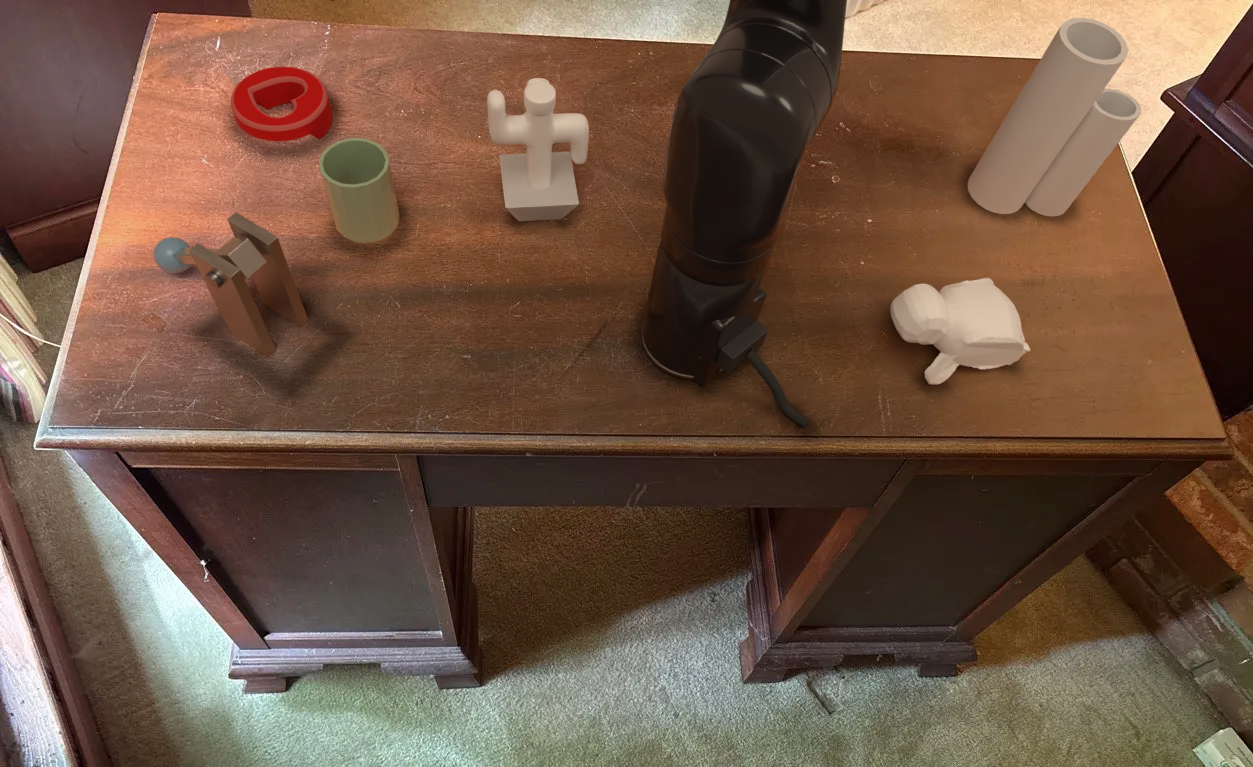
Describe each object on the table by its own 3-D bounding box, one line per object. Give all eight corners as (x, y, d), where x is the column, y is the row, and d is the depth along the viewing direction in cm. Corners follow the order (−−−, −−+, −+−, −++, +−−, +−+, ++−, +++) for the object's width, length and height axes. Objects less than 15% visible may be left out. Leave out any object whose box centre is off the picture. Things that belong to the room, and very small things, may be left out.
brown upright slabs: (203, 334, 79) (151, 241, 68) (260, 284, 82) (219, 188, 71) (288, 389, 77) (248, 303, 66) (342, 336, 80) (313, 245, 69)
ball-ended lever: (165, 279, 80) (139, 251, 78) (192, 257, 82) (167, 229, 80) (246, 287, 70) (219, 255, 68) (275, 261, 71) (249, 229, 69)
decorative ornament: (239, 91, 95) (230, 66, 92) (331, 86, 97) (325, 62, 94) (236, 154, 90) (227, 131, 88) (333, 148, 92) (327, 125, 89)
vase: (975, 214, 96) (1072, 63, 79) (960, 166, 100) (1049, 12, 83) (1072, 217, 97) (1188, 69, 80) (1053, 169, 101) (1160, 19, 84)
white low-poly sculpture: (959, 324, 92) (851, 304, 85) (1022, 274, 86) (911, 248, 78) (990, 394, 88) (879, 379, 80) (1059, 347, 81) (945, 327, 74)
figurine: (587, 228, 90) (597, 114, 77) (495, 233, 88) (489, 118, 75) (578, 176, 93) (586, 59, 81) (489, 180, 92) (483, 62, 79)
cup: (413, 231, 87) (402, 165, 80) (361, 262, 85) (345, 197, 77) (376, 195, 89) (362, 128, 82) (325, 224, 87) (305, 157, 79)
